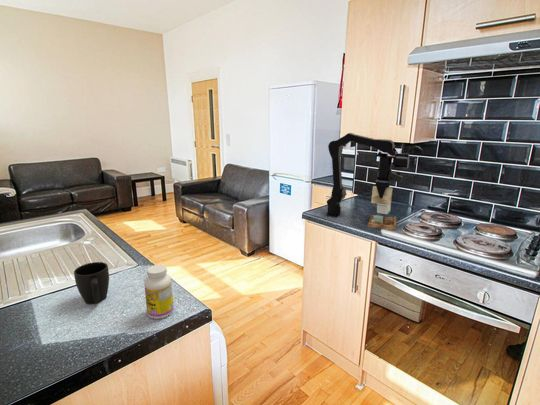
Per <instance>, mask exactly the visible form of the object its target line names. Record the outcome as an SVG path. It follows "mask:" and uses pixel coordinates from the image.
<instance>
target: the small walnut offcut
mask: <svg viewBox="0 0 540 405" xmlns="http://www.w3.org/2000/svg"><path fill="white" fill-rule="evenodd" d="M391 218H392V217H391ZM391 218H385V225H392V219H391Z"/></svg>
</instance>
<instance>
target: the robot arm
mask: <svg viewBox="0 0 540 405" xmlns="http://www.w3.org/2000/svg"><path fill="white" fill-rule="evenodd" d="M349 143H356V144H360V145H362V146H363V145H364V146H368V147H371V148H373V149H375V150H377V151H378V152H377V154H375V157H376V158H377V157H378V158H379V160H378V168H377V177H376V180H375V185H374V186H376V187H377V190H378V193H379V197H380V198H381V199H382V198H383V195H384V192H385V189H386V188H388V187H390V186H391V185H390V184H391V181H394V182H395V183H398V184H401V182H402V180H403V177H404V176H403V175H401V171H396V172H393V171H392V166H394V168H398V169H401V168H402V169H409V164H410V153H407V152H406V153H401V152H400V153H399V152H398V151H397V149H396V148H395V143H394V141H393V140H392V139H385V138H384V139H382V138H380V139H379V138H373V137H372V138H371V137H369V136H364V135H359V134H355V133H353V132H348V133H346V134H345V135H343V136H342V137H340V138H338V139H337V140H332V141H330V142H329V143H328V145H327V149H328V153H329V156H330V158H331V165H332V166H331V168H332V186H333V187H332V190H331V194H330V198H328V199H327V200H326V204H327V212H326V216H327V217H328V216H331V217H339V216H340V215H341V214H342V206H341V203H342V202H343V200H344V199H346V196H347V187H346V186H345V187H344V185H343V180H342V179H343V178H342V158H341V157H342V155H343V149H344V147H345V146H346V145H348V144H349Z"/></svg>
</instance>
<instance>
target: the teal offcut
mask: <svg viewBox="0 0 540 405" xmlns="http://www.w3.org/2000/svg"><path fill="white" fill-rule="evenodd" d="M373 216H374V218H373V220H374V221H375V222H383V217H384V216H383V215H376V214H373Z"/></svg>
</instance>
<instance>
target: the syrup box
mask: <svg viewBox="0 0 540 405" xmlns="http://www.w3.org/2000/svg"><path fill="white" fill-rule="evenodd" d="M388 188H392V190H393V187H390V186H389V187H388ZM392 198H393V195H392V196H391V200H392ZM376 207H377V208H376V213H377V214H383V215H389V214H390V213H391V209H392V203H391V204H390V205H386V204H377V206H376Z"/></svg>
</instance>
